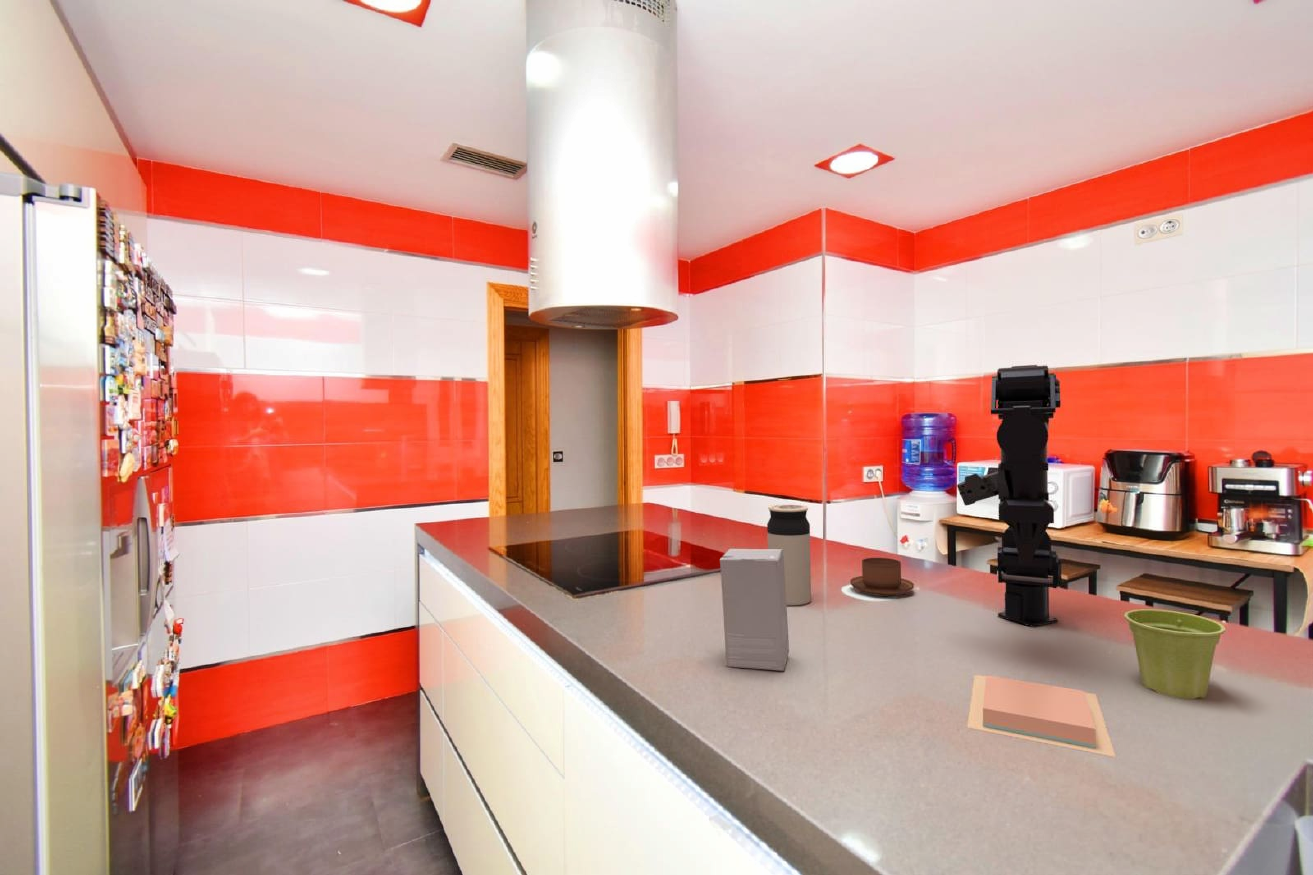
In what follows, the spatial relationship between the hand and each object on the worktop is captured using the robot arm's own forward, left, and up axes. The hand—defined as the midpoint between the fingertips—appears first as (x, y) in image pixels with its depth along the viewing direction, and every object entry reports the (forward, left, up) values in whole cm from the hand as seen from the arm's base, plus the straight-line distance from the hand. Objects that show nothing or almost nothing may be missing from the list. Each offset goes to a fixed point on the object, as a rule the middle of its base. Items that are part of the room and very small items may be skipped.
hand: (1025, 564), depth 88 cm
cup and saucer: (-6, -36, -13) cm, 39 cm away
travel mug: (+14, -38, -13) cm, 43 cm away
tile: (+13, +11, -12) cm, 20 cm away
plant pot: (-5, +15, -13) cm, 21 cm away
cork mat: (+15, +12, -13) cm, 24 cm away
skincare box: (+36, -14, -13) cm, 41 cm away
